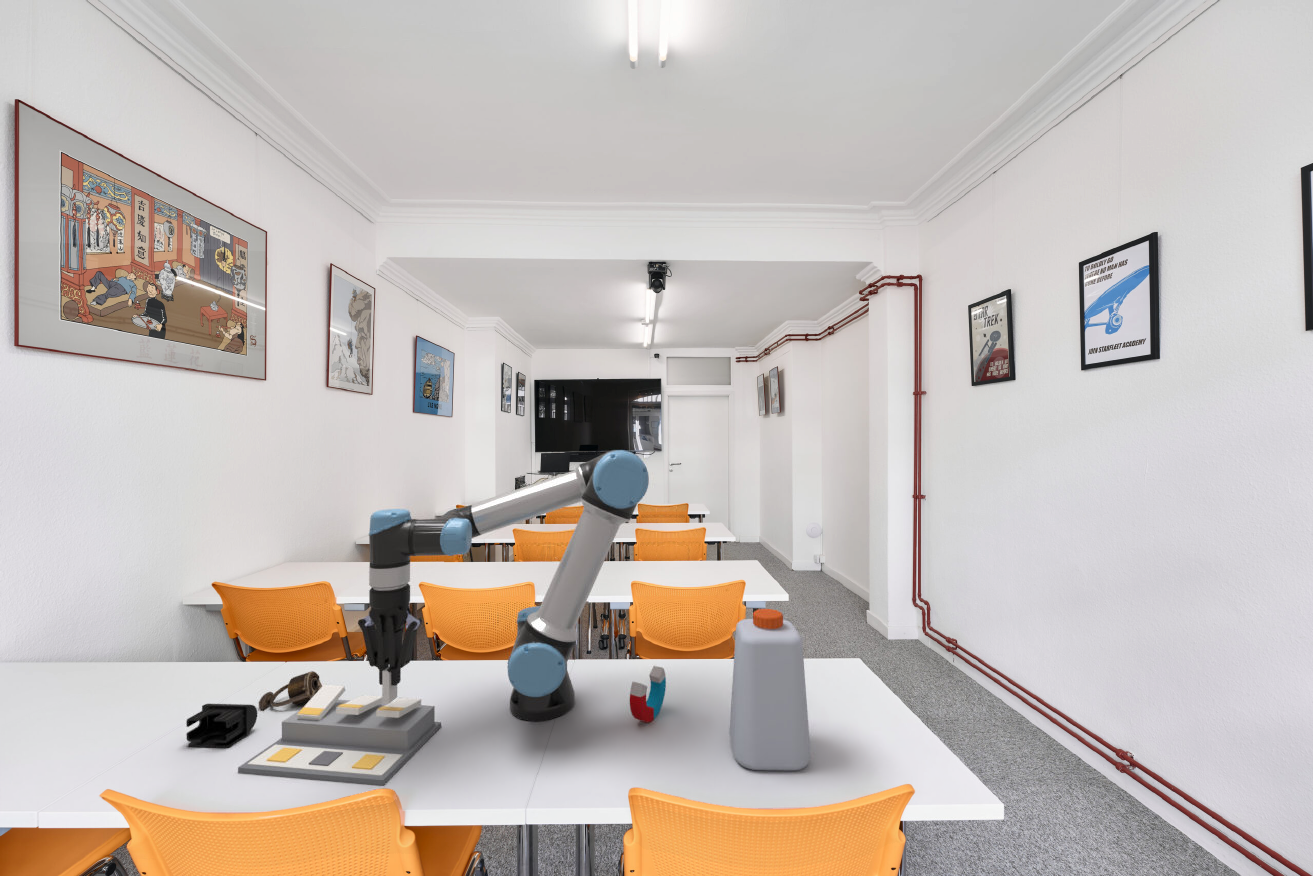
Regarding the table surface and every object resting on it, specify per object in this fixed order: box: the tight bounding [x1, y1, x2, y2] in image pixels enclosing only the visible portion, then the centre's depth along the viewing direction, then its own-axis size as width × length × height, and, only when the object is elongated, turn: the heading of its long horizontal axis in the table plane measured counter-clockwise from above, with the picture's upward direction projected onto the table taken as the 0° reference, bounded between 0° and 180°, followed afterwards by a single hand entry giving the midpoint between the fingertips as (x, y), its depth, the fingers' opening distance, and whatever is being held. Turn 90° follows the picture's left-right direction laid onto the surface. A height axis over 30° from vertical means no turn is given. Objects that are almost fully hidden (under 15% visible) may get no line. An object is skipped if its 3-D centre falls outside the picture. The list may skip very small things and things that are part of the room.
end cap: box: [185, 703, 258, 749], centre depth 113 cm, size 10×7×7 cm
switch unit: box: [237, 699, 442, 786], centre depth 109 cm, size 30×20×5 cm, turn 83°
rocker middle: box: [336, 695, 382, 715], centre depth 113 cm, size 5×8×1 cm, turn 173°
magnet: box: [629, 665, 667, 723], centre depth 120 cm, size 12×3×10 cm, turn 150°
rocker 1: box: [297, 684, 346, 720], centre depth 114 cm, size 5×8×1 cm, turn 173°
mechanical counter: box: [258, 670, 323, 710], centre depth 128 cm, size 7×13×10 cm
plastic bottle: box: [728, 608, 812, 772], centre depth 108 cm, size 15×15×28 cm
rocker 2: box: [376, 697, 422, 718], centre depth 112 cm, size 5×8×1 cm, turn 173°
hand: (389, 700), depth 109 cm, fingers closed
